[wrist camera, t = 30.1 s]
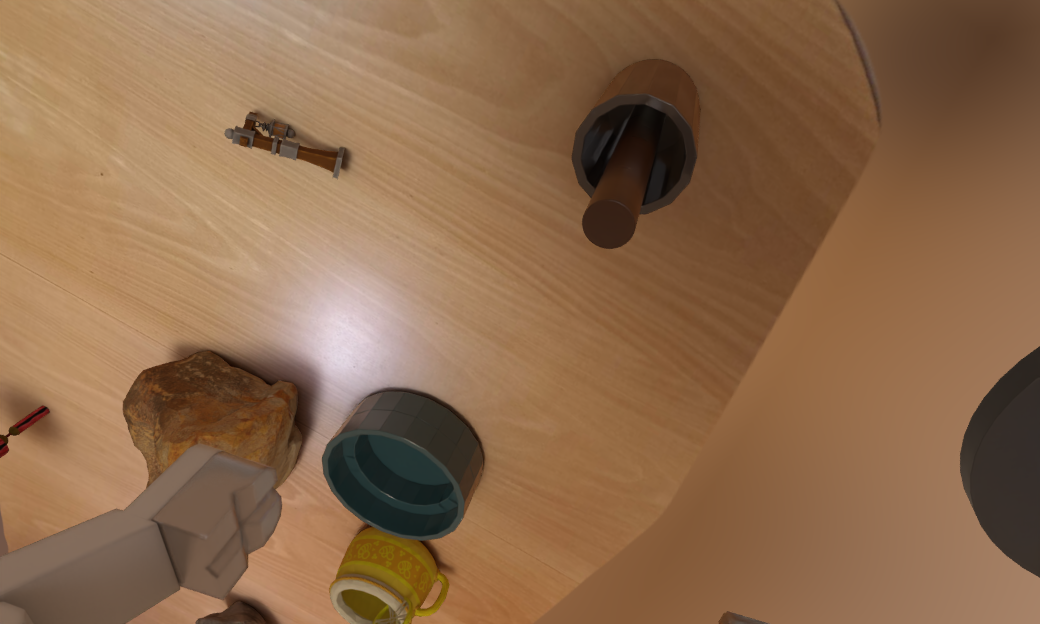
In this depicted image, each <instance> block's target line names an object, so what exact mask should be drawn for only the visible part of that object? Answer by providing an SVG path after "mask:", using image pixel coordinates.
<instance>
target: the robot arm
mask: <svg viewBox="0 0 1040 624" xmlns="http://www.w3.org/2000/svg"><path fill="white" fill-rule="evenodd" d="M277 481H278V478H277V473H276V469H275V468H273V467H270V466H267V465H264V464H261V463H258V462H255V461H252V460H249V459H246V458H243V457H240V456H237V455H234V454H230V453H227V452H225V451H223V450H219V449H216V448H213V447H210V446H207V445H203V444H200V443H198V444H196V445H194V446H192V447H190V448H188V449H187V450H186V451H185V452H184V453H183V454H182V455H181V456H180V457H179V458H178V459H177V460H176V461H175V462H174V463H173V464H172V465H170V466H169V467H168V468H167V469H166V470H165V471H164V472H163V473H162V474H161V475H160V476H159V477H158V478H157V479H156V480H155V481H154V482H153V483H152V484H151V485H150V486H149V487H148V488H147V489H146V490H144V491H143V492H142V493H141V494H140V495H139V496H138V497H137V498H136V499H135V500H134V501H133V502H132V503H131V504H130V505H129V506H128V507H127V508H126V509H125V510H124V511H123V510H120V509H114V510H112V511H109V512H107V513H104V514H102V515H99V516H97V517H95V518H92V519H90V520H87V521H85V522H83V523H80V524H78V525H75V526H73V527H71V528H68V529H66V530H63V531H61V532H59V533H56V534H54V535H51V536H49V537H47V538H44V539H42V540H39V541H37V542H35V543H32V544H30V545H27V546H25V547H23V548H20V549H18V550H15V551H13V552H11V553H8V554H6V555H3V556H1V557H0V624H125V623H127V622H129V621H130V620H132V619H133V618H135V617H137V616H138V615H140V614H142V613H143V612H145V611H146V610H148V609H150V608H151V607H153V606H154V605H156V604H158V603H159V602H161V601H162V600H164V599H166V598H167V597H169V596H170V595H172V594H174V593H175V592H177V591H179V590H180V586H181V587H184V588H187V589H190V590H193V591H196V592H200V593H203V594H206V595H209V596H212V597H215V598H218V599H221V600H224V599H225V598H226V596H227V595H228V593H229V592H230V591H231V589H232V588H233V587H234V585H235V584H236V583H237V581H238V580H239V579H240V577H241V576H242V575H243V573H244V572H245V571H246V569H247V568H248V554H249V553H251V552H253V551H255V550H257V549H259V548H261V547H263V546H264V545H265V544H266V542H267V541H268V540H269V538H270V537H271V535H272V534H273V533H274V530H275V528H276V526H277V523H278V521H279V519H280V516H281V509H282V501H281V496H280V495H279V494H278V492H277V491H276V490H275V489H274V488H273V486H274V485H275V484H276V482H277ZM719 624H768V623H765V622H762V621H759V620H755V619H752V618H748V617H745V616H742V615H738V614H735V613H732V612H726V613H724V614H723V616H722V617H721V619H720V620H719Z"/></svg>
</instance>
